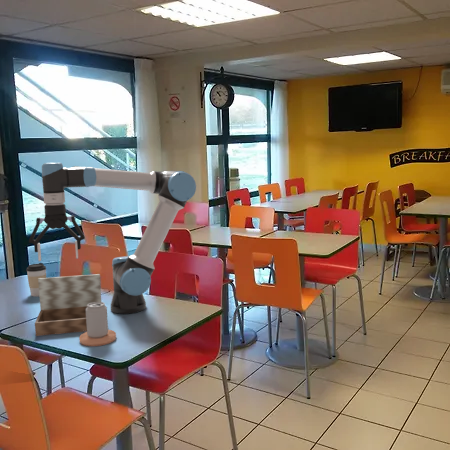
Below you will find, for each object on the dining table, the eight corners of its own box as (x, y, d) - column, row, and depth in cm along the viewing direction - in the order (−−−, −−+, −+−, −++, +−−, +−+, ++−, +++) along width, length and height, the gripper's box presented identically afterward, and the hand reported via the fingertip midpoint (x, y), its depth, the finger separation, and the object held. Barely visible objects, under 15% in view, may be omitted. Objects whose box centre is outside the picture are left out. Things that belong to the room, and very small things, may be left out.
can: (112, 334, 185) (110, 302, 183) (97, 340, 179) (95, 308, 177) (98, 330, 189) (96, 299, 187) (82, 336, 183) (80, 305, 181)
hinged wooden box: (102, 316, 210) (99, 274, 208) (101, 329, 194) (98, 284, 191) (41, 321, 205) (38, 278, 203) (35, 336, 189) (31, 289, 186)
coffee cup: (36, 298, 238) (34, 267, 236) (24, 295, 243) (21, 265, 241) (52, 293, 246) (49, 263, 244) (40, 290, 251) (37, 261, 248)
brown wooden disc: (116, 331, 192) (115, 327, 192) (116, 344, 179) (116, 340, 179) (80, 334, 189) (80, 331, 189) (78, 347, 177) (78, 343, 176)
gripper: (18, 206, 183) (22, 263, 186) (89, 203, 189) (92, 258, 192) (20, 204, 190) (25, 259, 193) (89, 201, 196) (92, 254, 199)
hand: (58, 259), depth 193 cm, fingers open, 13 cm apart
